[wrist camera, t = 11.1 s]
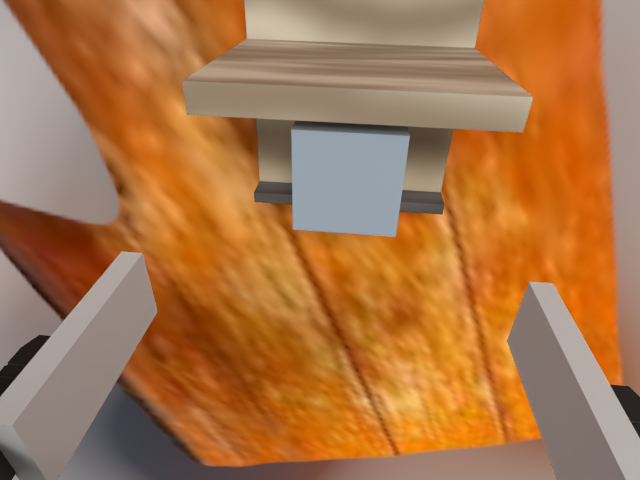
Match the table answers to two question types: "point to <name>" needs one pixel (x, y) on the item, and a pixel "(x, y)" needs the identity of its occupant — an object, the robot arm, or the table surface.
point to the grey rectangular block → (348, 177)
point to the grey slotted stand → (360, 82)
